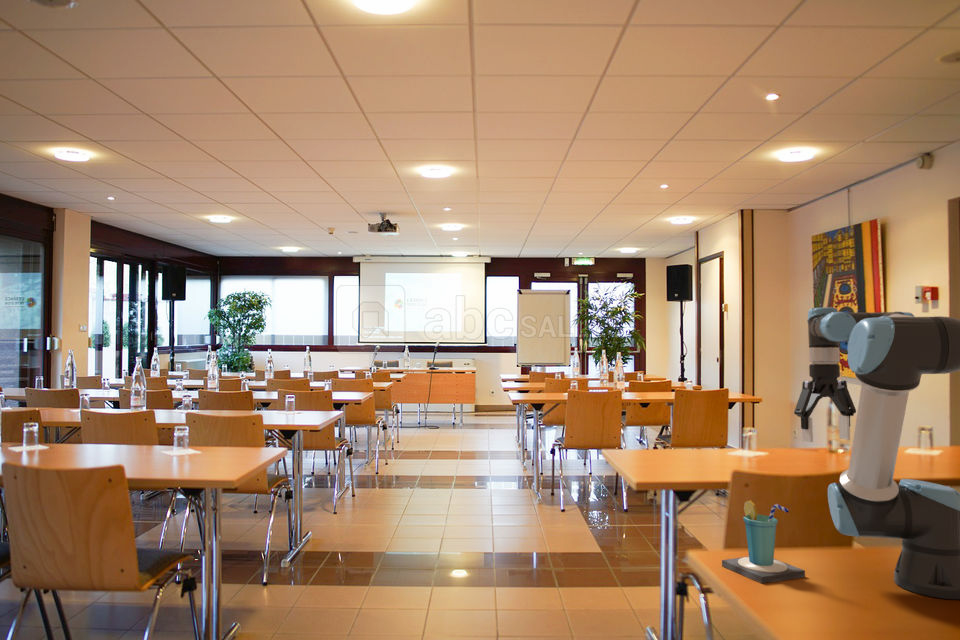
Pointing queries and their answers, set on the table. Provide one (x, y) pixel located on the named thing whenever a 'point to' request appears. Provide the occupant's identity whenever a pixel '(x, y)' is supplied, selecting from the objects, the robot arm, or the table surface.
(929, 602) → the table surface
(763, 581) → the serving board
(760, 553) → the cup
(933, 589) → the robot arm
